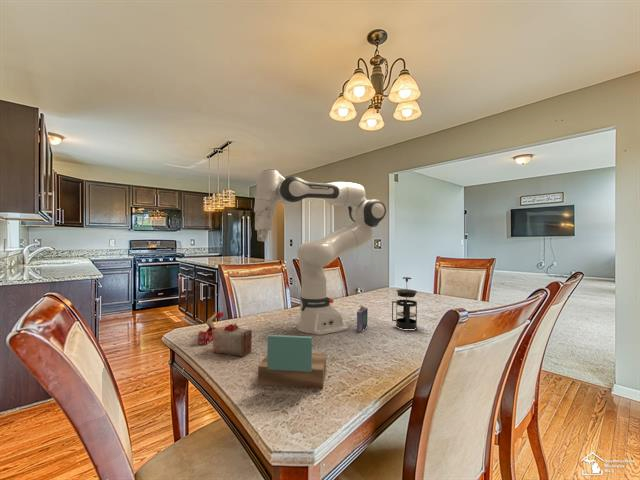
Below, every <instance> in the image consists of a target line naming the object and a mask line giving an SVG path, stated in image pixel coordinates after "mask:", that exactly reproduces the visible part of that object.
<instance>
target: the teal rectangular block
mask: <svg viewBox="0 0 640 480" xmlns="http://www.w3.org/2000/svg"><path fill="white" fill-rule="evenodd" d="M266 349H267V351H266V355H267V369H270V370H287V371H305V372H311V371H312V353H313V336H306V335H305V336H304V335H284V334H283V335H282V334H281V335H279V334H268V335H267V348H266Z"/></svg>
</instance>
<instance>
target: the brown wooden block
mask: <svg viewBox="0 0 640 480" xmlns="http://www.w3.org/2000/svg"><path fill="white" fill-rule="evenodd" d="M257 371H258V372H257V385H265V386H278V387H279V386H281V387H293V386H294V387H295V388H298V387H299V388H309V387H312V388H313V389H324V384H325V378H326V372H327V353H316V352H315V353H313V352H312V371H311V372H305V371H287V370H270V369H267V354H266V355H265V356H264V358H262V360H261V362H260V363H259V364H258V367H257Z"/></svg>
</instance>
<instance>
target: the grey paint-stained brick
mask: <svg viewBox="0 0 640 480" xmlns="http://www.w3.org/2000/svg"><path fill="white" fill-rule="evenodd" d="M215 328H216V329H215V330H213V329H212V330H213V331H212V336H213V340H212V341H211V342H212V349H213V351H212V352H213V354H225V355H231V356H237V357H242V358H243V357H246V356H247V355H249V354H250V353H251V352H252V350H253V348H252V343H253V342H252V340H253V339H252V337H253V335H252V333H253V332H252V331H253V330H251V329H247V328H246V329H245V328H241V327H239V326H238V325H237V322H235V323H234V324H233V323H231V324H228V325H226V326H218V327H215Z"/></svg>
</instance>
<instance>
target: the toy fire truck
mask: <svg viewBox="0 0 640 480" xmlns="http://www.w3.org/2000/svg"><path fill="white" fill-rule="evenodd" d="M224 317H225V316H224V312H219V311H216V312H212V316H211V317H209V318H207V320H206V325H207V326H208V328H207V330H205V331H203V330H201V331H200V332H199V333H198V334H197V335H198V336H197V344H199V345H208V344H209V343H210V342H212V341H213V336H212V331H213V330H215V329H216V328H217V327H216V326H215V324H214V322H213V320H214V319H222V318H224Z"/></svg>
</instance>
